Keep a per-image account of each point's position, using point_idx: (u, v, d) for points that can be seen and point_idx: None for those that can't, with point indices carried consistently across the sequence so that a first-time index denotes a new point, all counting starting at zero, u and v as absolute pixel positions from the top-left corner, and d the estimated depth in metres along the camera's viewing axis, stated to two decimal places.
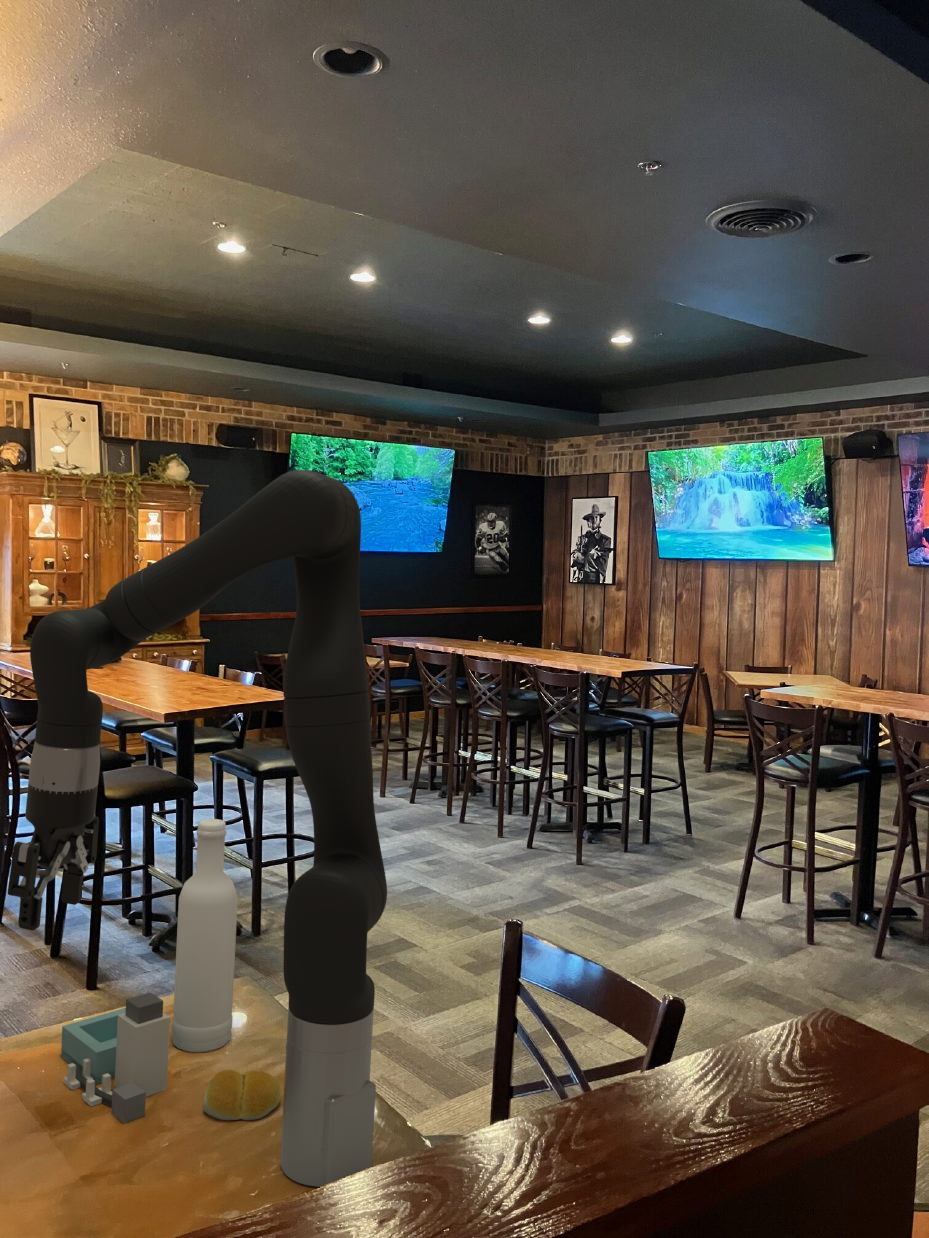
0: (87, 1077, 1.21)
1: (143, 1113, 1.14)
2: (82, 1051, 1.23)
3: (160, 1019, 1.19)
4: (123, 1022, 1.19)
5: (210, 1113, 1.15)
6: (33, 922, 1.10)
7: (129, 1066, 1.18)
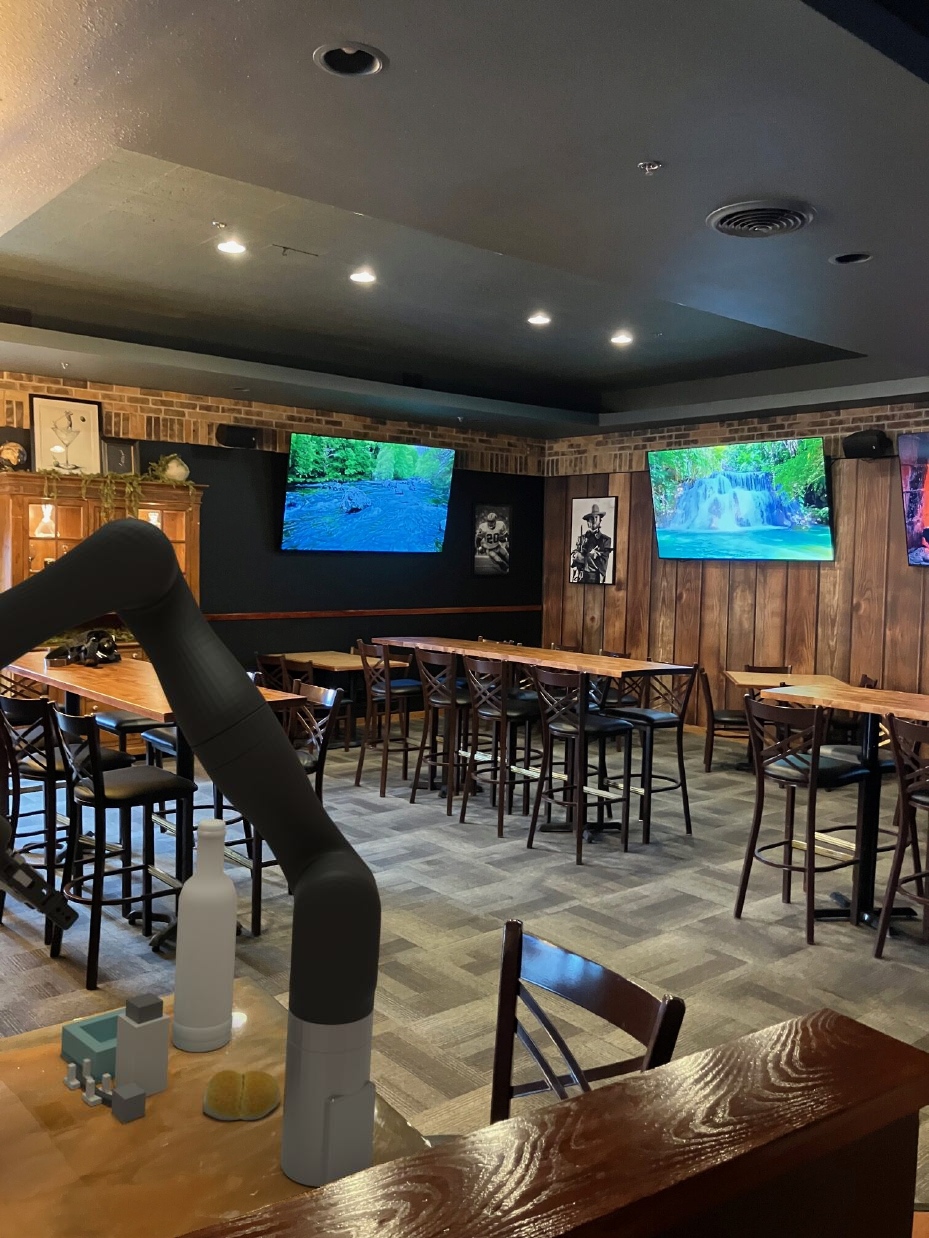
0: (87, 1077, 1.21)
1: (143, 1113, 1.14)
2: (82, 1051, 1.23)
3: (160, 1019, 1.19)
4: (123, 1022, 1.19)
5: (210, 1113, 1.15)
6: (72, 913, 1.08)
7: (129, 1066, 1.18)
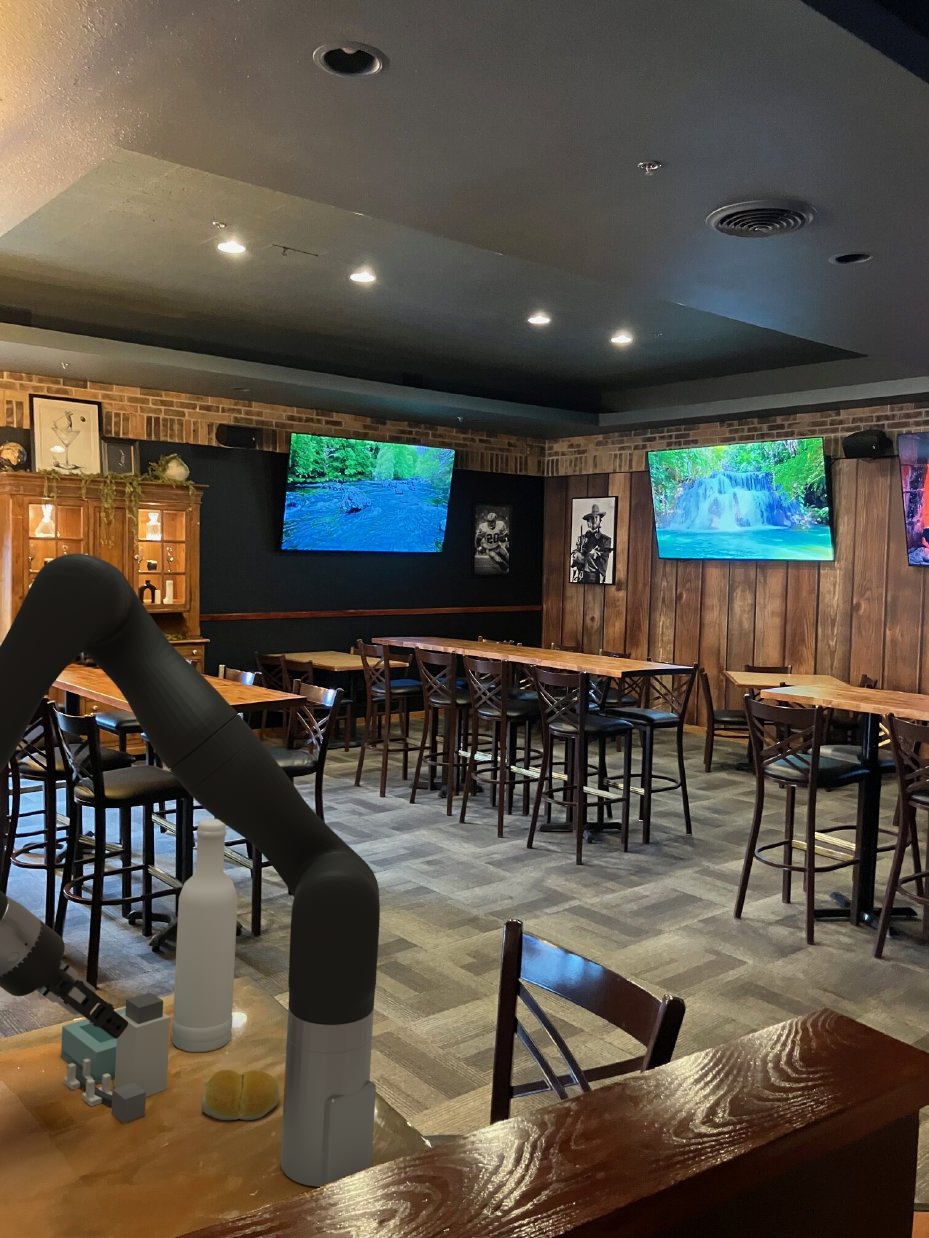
0: (87, 1077, 1.21)
1: (143, 1113, 1.14)
2: (82, 1051, 1.23)
3: (160, 1019, 1.19)
4: None
5: (209, 1113, 1.15)
6: (122, 1021, 1.13)
7: (129, 1066, 1.18)
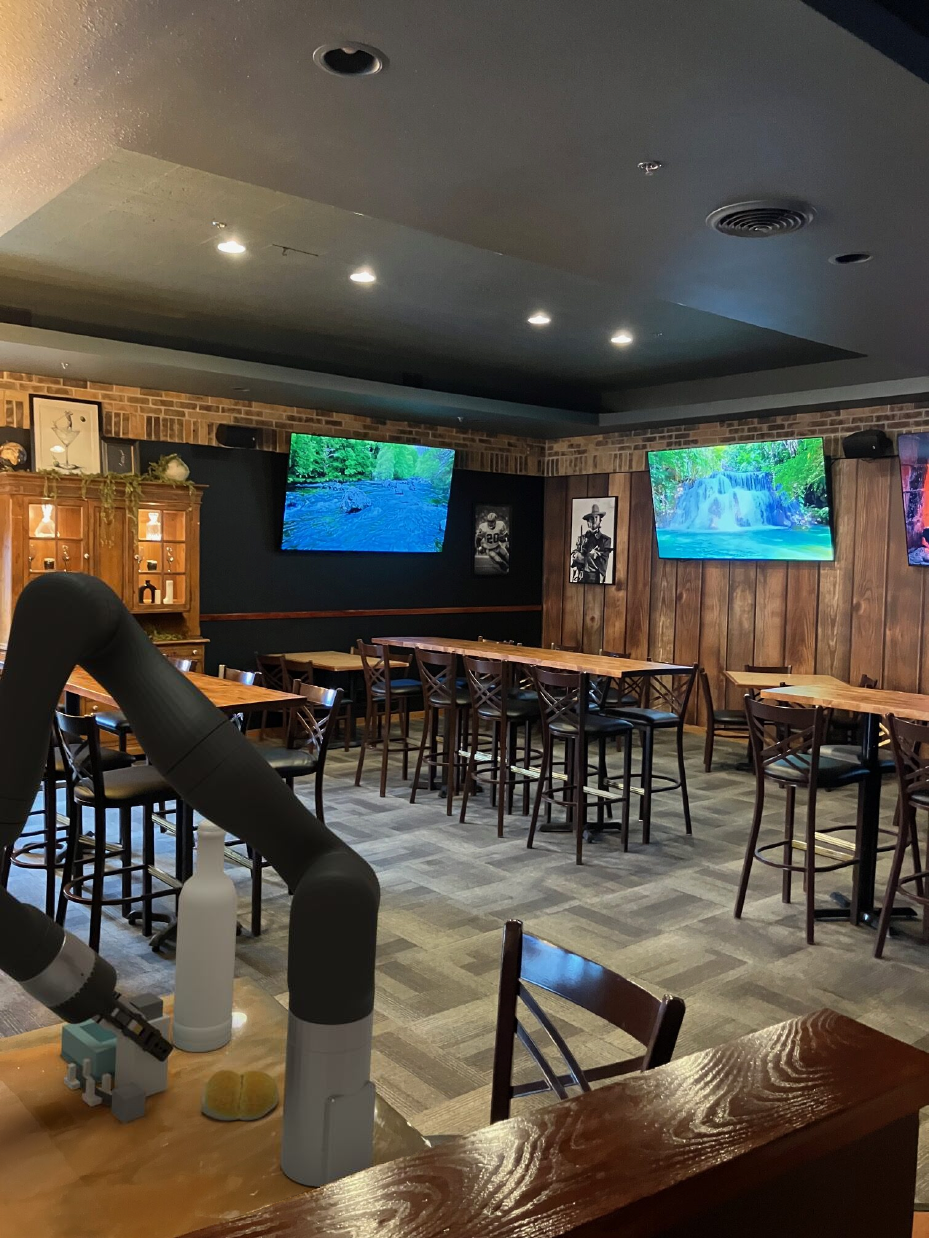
0: (87, 1077, 1.21)
1: (143, 1113, 1.14)
2: (82, 1051, 1.23)
3: (160, 1018, 1.19)
4: None
5: (208, 1113, 1.15)
6: (168, 1045, 1.20)
7: (129, 1066, 1.18)
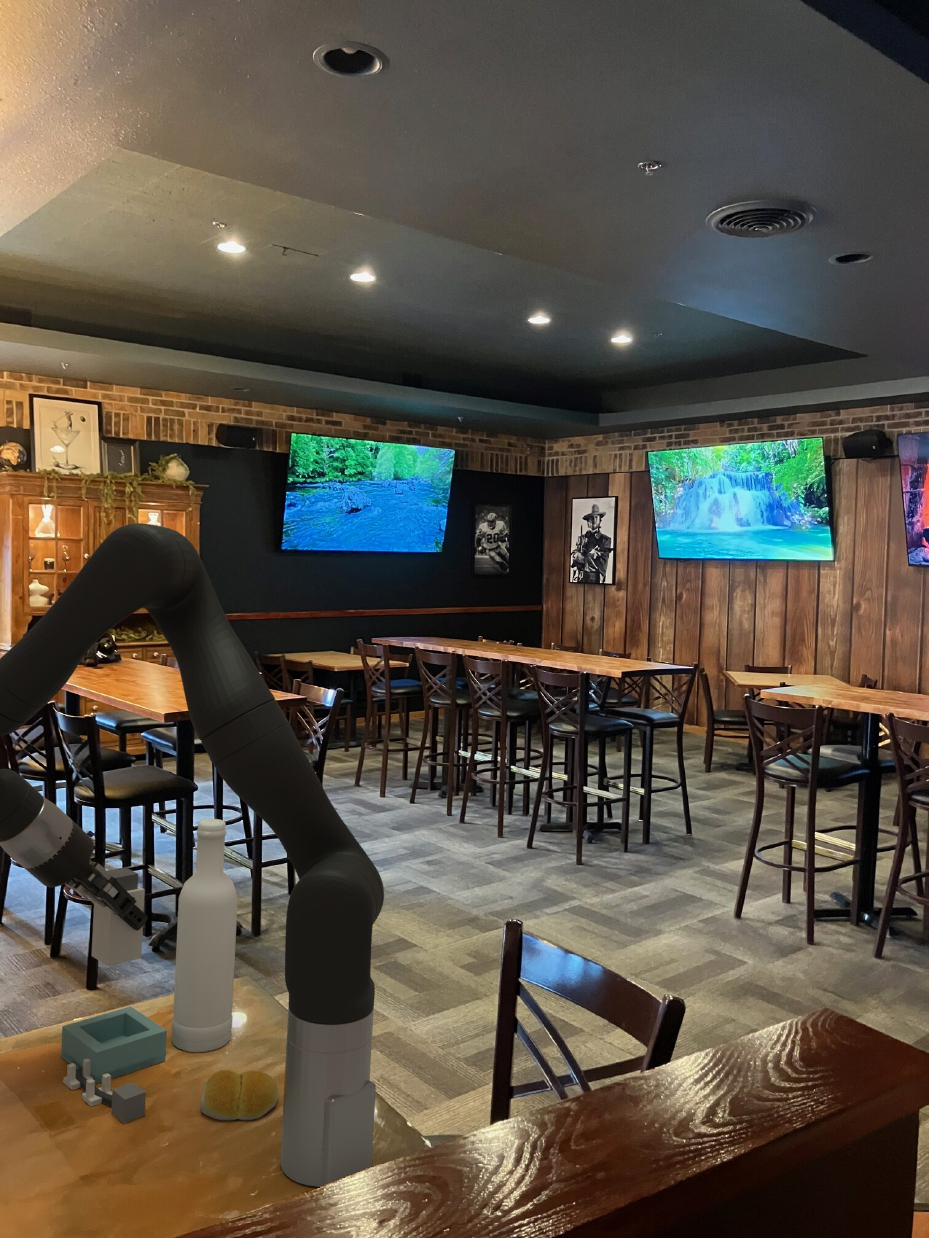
0: (87, 1077, 1.21)
1: (143, 1113, 1.14)
2: (82, 1051, 1.23)
3: (135, 890, 1.26)
4: None
5: (208, 1113, 1.15)
6: (143, 915, 1.26)
7: (105, 933, 1.24)
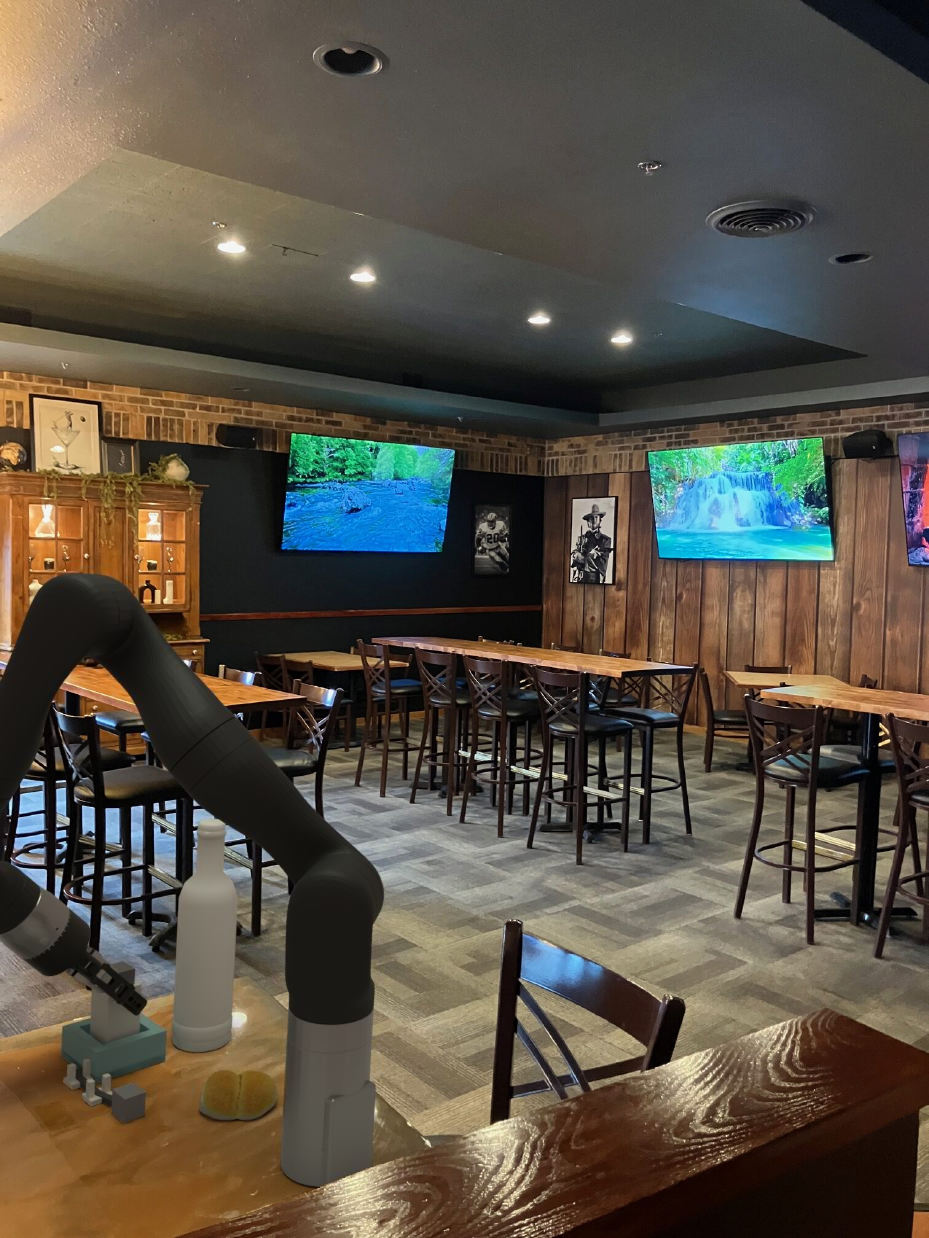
0: (87, 1077, 1.21)
1: (143, 1113, 1.14)
2: (82, 1051, 1.23)
3: None
4: None
5: (207, 1113, 1.15)
6: (142, 1000, 1.25)
7: (102, 1030, 1.25)
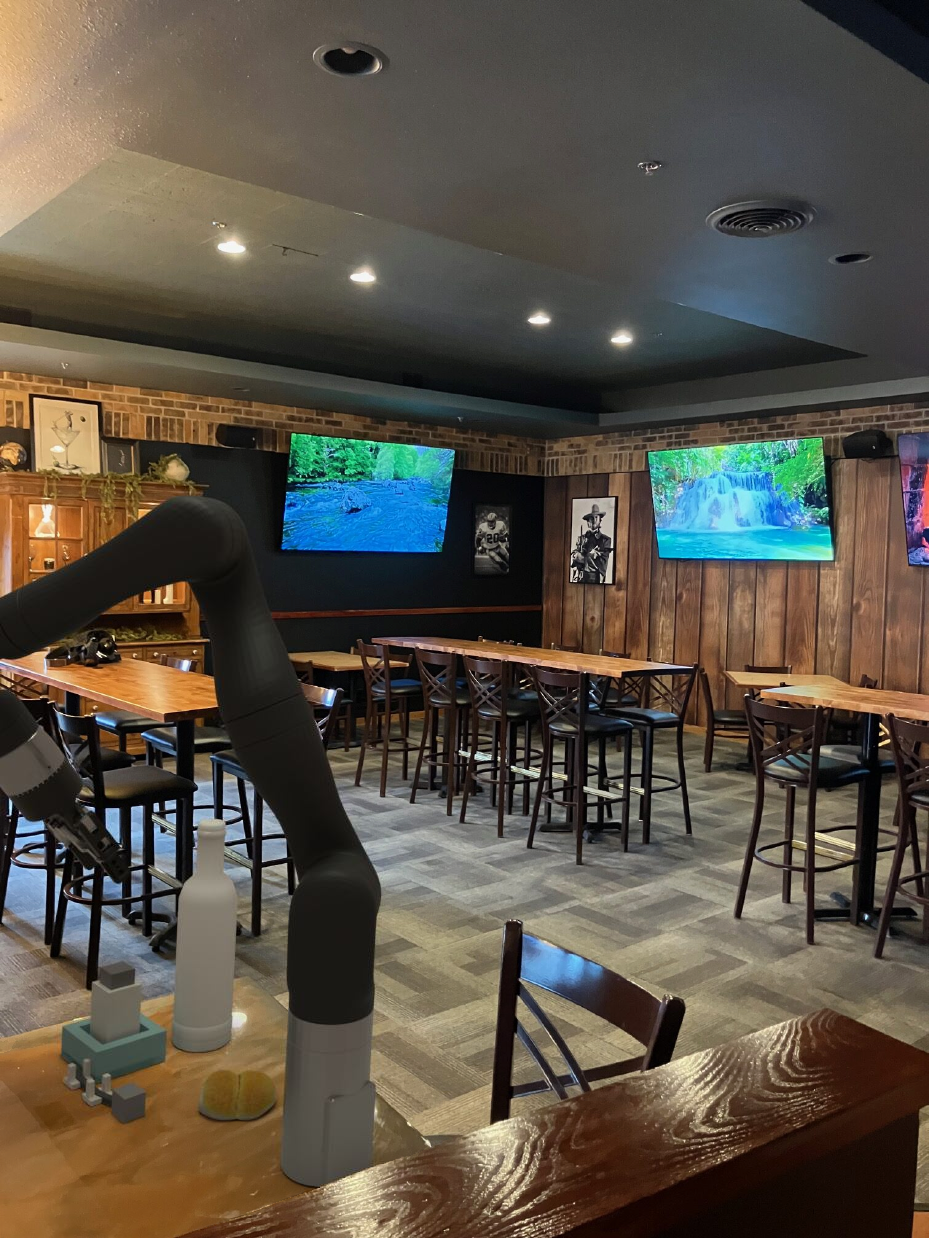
0: (87, 1077, 1.21)
1: (143, 1113, 1.14)
2: (82, 1051, 1.23)
3: (132, 985, 1.26)
4: (97, 988, 1.26)
5: (206, 1113, 1.15)
6: None
7: (102, 1030, 1.25)
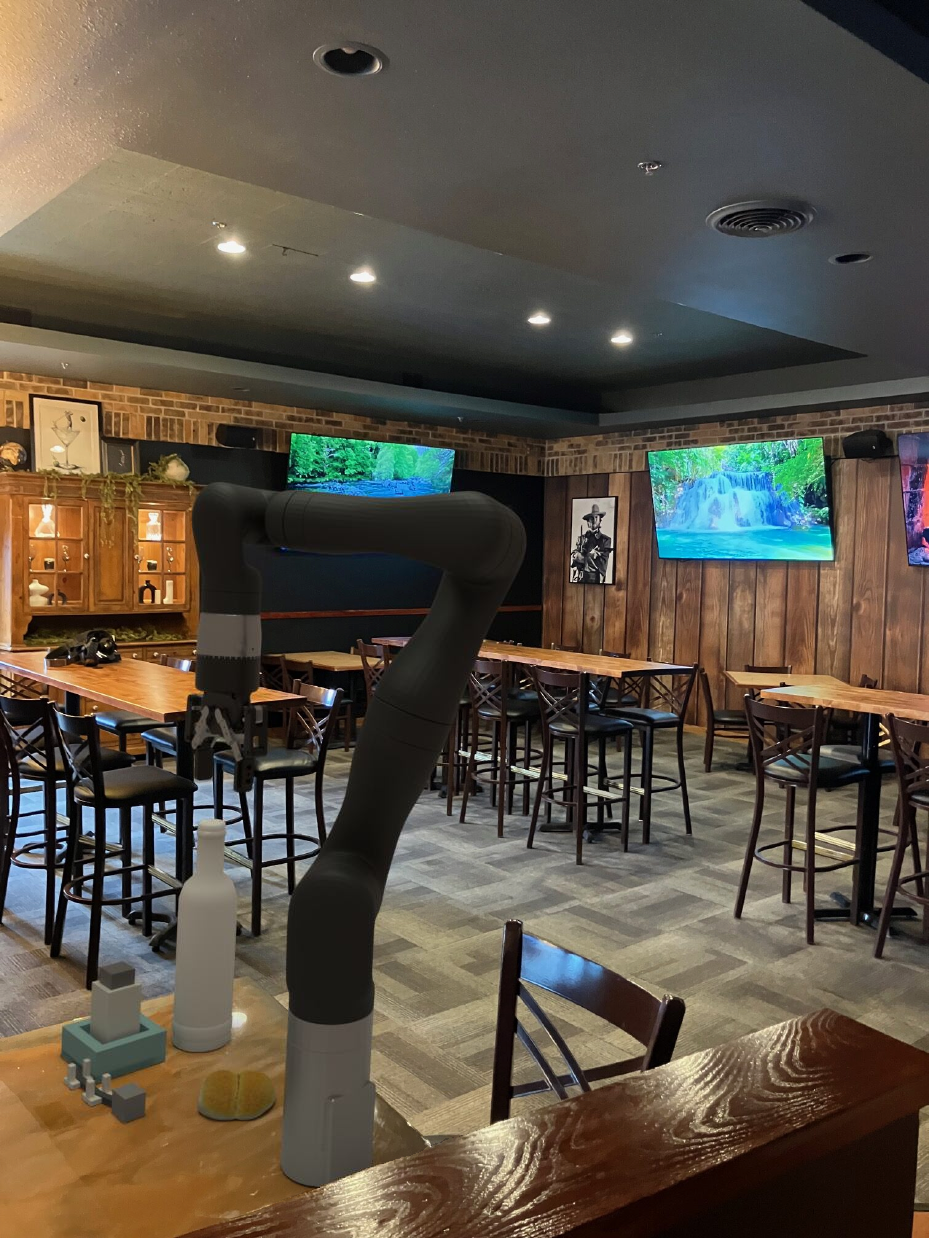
0: (87, 1077, 1.21)
1: (143, 1113, 1.14)
2: (82, 1051, 1.23)
3: (132, 985, 1.26)
4: (97, 988, 1.26)
5: (205, 1113, 1.15)
6: None
7: (102, 1030, 1.25)
